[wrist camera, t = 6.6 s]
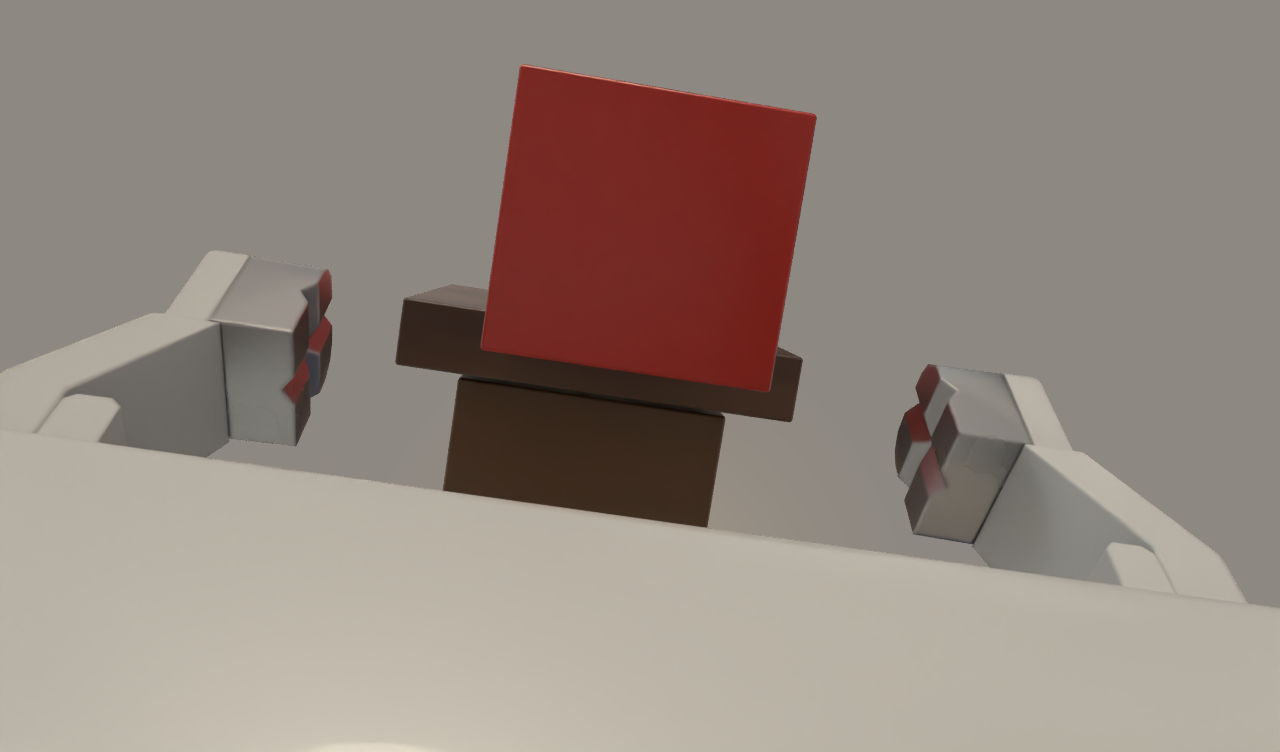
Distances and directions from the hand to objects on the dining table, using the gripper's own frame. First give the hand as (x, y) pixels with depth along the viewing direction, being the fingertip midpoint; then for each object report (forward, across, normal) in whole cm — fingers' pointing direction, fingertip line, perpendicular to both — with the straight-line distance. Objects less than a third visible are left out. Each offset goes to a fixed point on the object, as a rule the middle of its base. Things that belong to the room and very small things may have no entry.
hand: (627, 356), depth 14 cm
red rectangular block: (+9, 0, +6) cm, 11 cm away
